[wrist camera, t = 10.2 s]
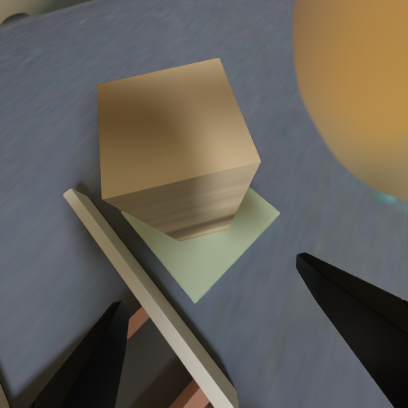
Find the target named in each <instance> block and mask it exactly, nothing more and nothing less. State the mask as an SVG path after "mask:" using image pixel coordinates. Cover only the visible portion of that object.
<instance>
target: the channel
mask: <svg viewBox="0 0 408 408" xmlns="http://www.w3.org/2000/svg"><path fill="white" fill-rule="evenodd" d="M63 196H64V197H65V198H66V200H67V201H68V203H69V204H70V205H71V207H72V208H73V210H74V211H75V212H76V214H77V215H78V217H79V218H80V219H81V221H82V222H83V224H84V225H85V226H86V228H87V229H88V231H89V232H90V234H91V235H92V236H93V238H94V239H95V241H96V242H97V243H98V245H99V246H100V248H101V249H102V250H103V252H104V253H105V255H106V256H107V257H108V259H109V260H110V262H111V263H112V264H113V266H114V267H115V269H116V270H117V271H118V273H119V274H120V276H121V277H122V278H123V280H124V281H125V283H126V284H127V285H128V287H129V288H130V290H131V291H132V292H133V294H134V295H135V297H136V298H137V299H138V301H139V302H140V304H141V305H142V307H143V308H144V309H145V311H146V312H147V314H148V315H149V316H150V318H151V319H152V321H153V322H154V323H155V325H156V326H157V328H158V329H159V330H160V332H161V333H162V335H163V336H164V337H165V339H166V340H167V342H168V343H169V344H170V346H171V347H172V349H173V350H174V351H175V353H176V354H177V356H178V357H179V358H180V360H181V361H182V363H183V364H184V365H185V367H186V368H187V370H188V371H189V372H190V374H191V375H192V377H193V378H194V380H195V381H196V382H197V384H198V385H199V387H200V388H201V389H202V391H203V392H204V394H205V395H206V396H207V398H208V399H209V403H208V404H207V405H206V406H205V408H239V404H238V399H237V393H236V389H235V388H234V387H233V386H232V384H231V383H230V382H229V380H228V379H227V378H226V376H225V375H224V374H223V372H222V371H221V370H220V369H219V367H218V366H217V365H216V363H215V362H214V361H213V359H212V358H211V357H210V356H209V354H208V353H207V352H206V350H205V349H204V348H203V346H202V345H201V344H200V342H199V341H198V340H197V339H196V337H195V336H194V335H193V333H192V332H191V331H190V329H189V328H188V327H187V326H186V324H185V323H184V322H183V320H182V319H181V318H180V316H179V315H178V314H177V312H176V311H175V310H174V309H173V307H172V306H171V305H170V303H169V302H168V301H167V299H166V298H165V297H164V296H163V294H162V293H161V292H160V290H159V289H158V288H157V286H156V285H155V284H154V283H153V281H152V280H151V279H150V277H149V276H148V275H147V273H146V272H145V271H144V269H143V268H142V267H141V266H140V264H139V263H138V262H137V260H136V259H135V258H134V256H133V255H132V254H131V253H130V251H129V250H128V249H127V247H126V246H125V245H124V243H123V242H122V241H121V239H120V238H119V237H118V236H117V234H116V233H115V232H114V230H113V229H112V228H111V226H110V225H109V224H108V223H107V221H106V220H105V219H104V217H103V216H102V215H101V213H100V212H99V211H98V209H97V208H96V207H95V206H94V204H93V203H92V202H91V200H90V199H89V198H88V197H87V196H85V195H83V194H81V193H79V192H77V191H75V190H73V189H69V190H68V191H67V192H65V193H64V194H63ZM0 408H10V407H9V404H8V402H7V399H6V397H5V394H4V391H3V389H2V386H1V384H0Z"/></svg>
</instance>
